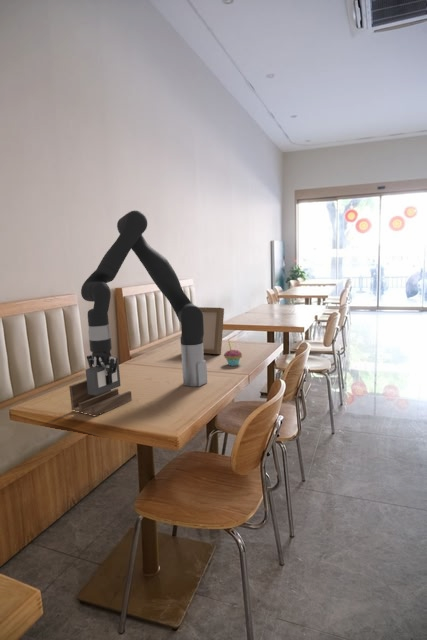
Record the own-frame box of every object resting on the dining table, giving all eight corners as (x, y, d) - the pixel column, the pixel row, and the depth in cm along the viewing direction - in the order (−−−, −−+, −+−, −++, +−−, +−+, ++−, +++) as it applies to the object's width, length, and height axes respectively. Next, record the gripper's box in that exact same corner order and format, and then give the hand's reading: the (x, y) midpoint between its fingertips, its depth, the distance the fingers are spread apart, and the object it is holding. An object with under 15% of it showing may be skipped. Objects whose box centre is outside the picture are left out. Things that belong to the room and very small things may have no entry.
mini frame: (121, 386, 157) (119, 362, 156) (96, 395, 147) (93, 370, 146) (112, 384, 159) (110, 361, 158) (87, 394, 149) (85, 369, 148)
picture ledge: (131, 400, 159) (129, 376, 158) (95, 416, 144) (92, 390, 143) (109, 396, 166) (107, 372, 164) (72, 411, 151) (69, 385, 149)
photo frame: (216, 355, 222) (214, 308, 219) (183, 353, 234) (180, 308, 231) (230, 350, 235) (228, 305, 232) (198, 347, 246) (195, 305, 243)
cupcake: (222, 366, 201) (220, 341, 200) (228, 361, 209) (227, 338, 207) (239, 367, 198) (238, 342, 196) (244, 362, 206) (243, 338, 204)
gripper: (121, 336, 149) (126, 383, 152) (94, 334, 157) (98, 379, 160) (106, 340, 143) (110, 389, 146) (78, 338, 151) (82, 384, 153)
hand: (104, 383), depth 153 cm, fingers closed on mini frame, 4 cm apart
